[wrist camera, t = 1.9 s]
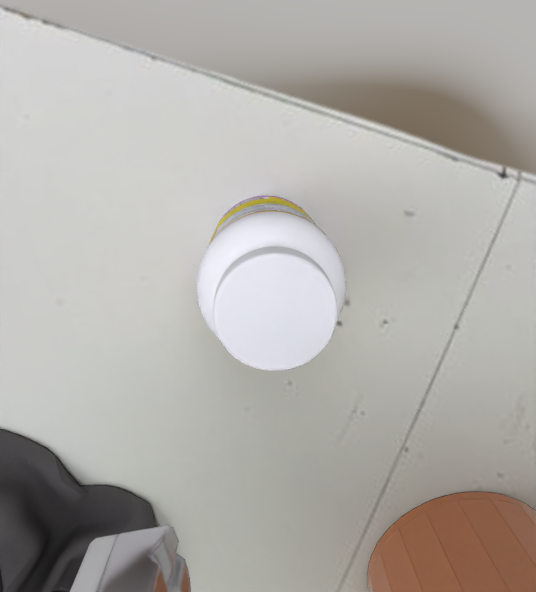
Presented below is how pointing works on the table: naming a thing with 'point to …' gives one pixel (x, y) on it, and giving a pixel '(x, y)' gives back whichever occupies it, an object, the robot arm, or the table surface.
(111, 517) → the cloth
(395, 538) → the terracotta round pot
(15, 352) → the table surface
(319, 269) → the supplement bottle
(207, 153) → the table surface
